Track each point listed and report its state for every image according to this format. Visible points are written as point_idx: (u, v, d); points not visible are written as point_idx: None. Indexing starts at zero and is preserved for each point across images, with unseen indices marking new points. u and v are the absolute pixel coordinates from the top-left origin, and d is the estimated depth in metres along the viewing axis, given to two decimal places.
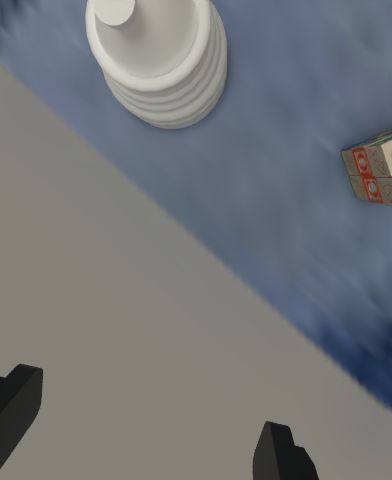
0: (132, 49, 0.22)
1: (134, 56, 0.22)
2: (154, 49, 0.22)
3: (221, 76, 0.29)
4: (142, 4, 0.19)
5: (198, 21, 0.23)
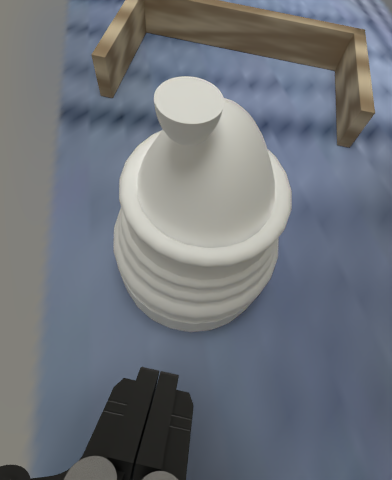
0: (166, 183, 0.14)
1: (163, 192, 0.15)
2: (192, 202, 0.14)
3: (241, 306, 0.21)
4: (219, 146, 0.13)
5: (263, 227, 0.16)
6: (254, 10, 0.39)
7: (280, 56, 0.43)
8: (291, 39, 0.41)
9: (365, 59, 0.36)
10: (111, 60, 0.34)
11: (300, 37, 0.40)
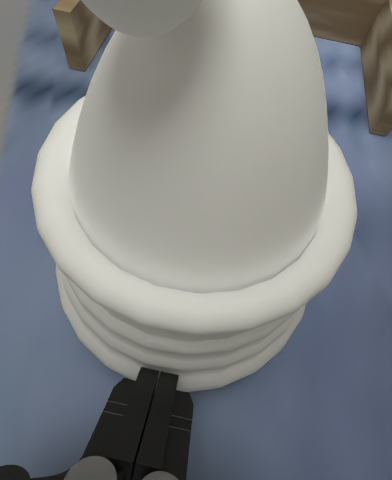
0: (108, 155, 0.06)
1: (104, 177, 0.07)
2: (164, 199, 0.06)
3: (256, 369, 0.13)
4: (228, 52, 0.05)
5: (309, 249, 0.08)
6: None
7: None
8: (309, 5, 0.33)
9: None
10: (80, 20, 0.26)
11: (320, 2, 0.33)
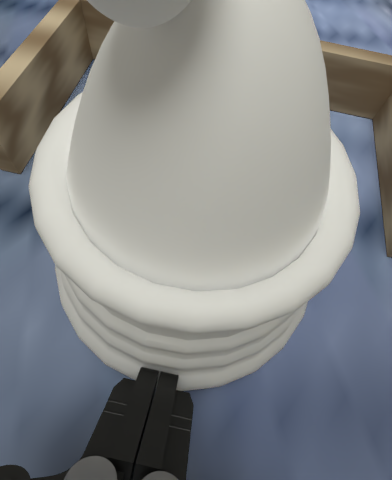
0: (105, 149, 0.06)
1: (101, 173, 0.07)
2: (162, 195, 0.06)
3: (256, 368, 0.13)
4: (227, 43, 0.05)
5: (311, 248, 0.08)
6: None
7: None
8: None
9: None
10: (5, 120, 0.20)
11: None
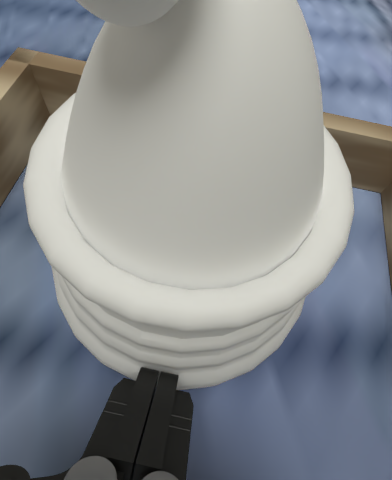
0: (98, 148, 0.06)
1: (94, 171, 0.07)
2: (154, 193, 0.06)
3: (252, 367, 0.13)
4: (217, 42, 0.05)
5: (304, 246, 0.08)
6: None
7: None
8: None
9: None
10: None
11: None
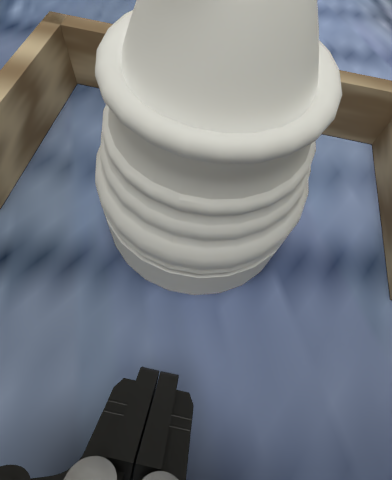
0: (162, 19, 0.09)
1: (157, 40, 0.09)
2: (202, 47, 0.09)
3: (262, 250, 0.15)
4: None
5: (305, 112, 0.11)
6: None
7: None
8: None
9: None
10: None
11: None
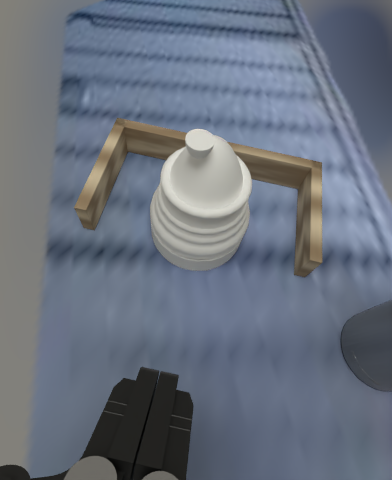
0: (187, 175, 0.29)
1: (185, 180, 0.29)
2: (199, 185, 0.29)
3: (225, 249, 0.36)
4: (212, 158, 0.28)
5: (235, 199, 0.31)
6: None
7: None
8: (257, 166, 0.45)
9: (319, 198, 0.41)
10: (92, 206, 0.38)
11: (265, 166, 0.45)
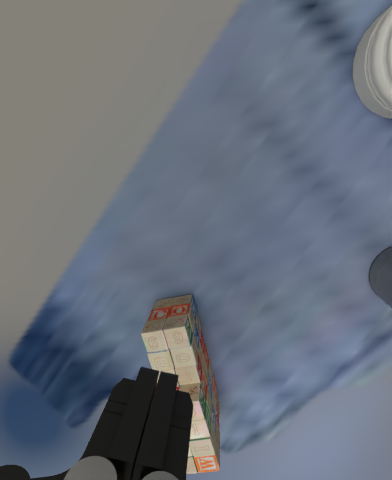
0: None
1: None
2: None
3: None
4: None
5: None
6: None
7: None
8: None
9: None
10: None
11: None
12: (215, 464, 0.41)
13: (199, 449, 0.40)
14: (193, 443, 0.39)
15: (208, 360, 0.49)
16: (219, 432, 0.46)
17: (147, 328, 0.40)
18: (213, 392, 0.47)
